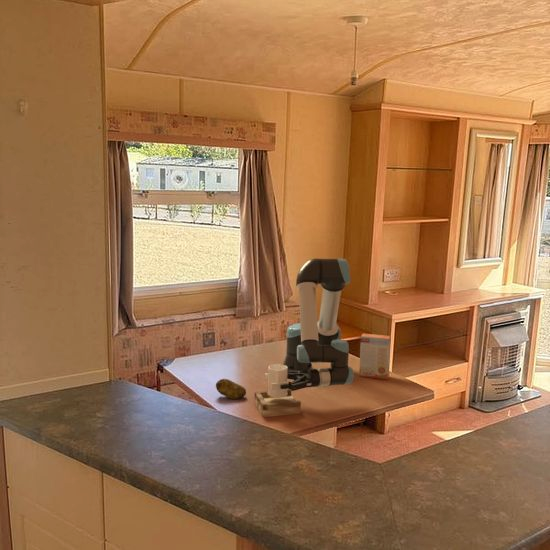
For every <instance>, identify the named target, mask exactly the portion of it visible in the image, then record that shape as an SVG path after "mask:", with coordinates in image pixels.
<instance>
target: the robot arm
mask: <svg viewBox="0 0 550 550" xmlns="http://www.w3.org/2000/svg"><path fill="white" fill-rule="evenodd" d="M350 271H351V270H350V264H349V261H348V260H347V259H345V258H311V259H309V260H307V261H306V262H305V263H303V265H302V266H301V267H300V268H299V271H298V273H297V276H296V281H295V282H296V283H295V285H296V286H295V287H296V290H298V300H299V322H300V323H299V322H298V323H293V324H291V325H288V327H287V328H286V336H285V337H286V347H285V348H286V353H285V354H286V355H285V356H284V360H283V363H282V365H286V366H287V367H288V369H287V382H282V383H272V390H281V389H289V390H290V389H291V392H295V391H298V390H302V389H306V388H316V387H317V388H318V387H323V388H325V387H326V386H327V387H329V386H339V385H341V386H343V385H348V384H351V383H353V381H354V378H355V375H354V374H355V373H354V370H353V368H352V366H349V353H350V350H349V342H348V341H347V340H344V339H342V338H341V337H342V331H341V328H340V327H339V325H338V324H337V320H338V313H339V308H340V307H339V306H340V301H341V293H342V291H343V290H345V287H346V285H350V283H351V272H350ZM318 285H320V287H321V288H322V295H321V301H320V310H319V317H318V310H317V309H318V308H317V306H318V305H317V291H316V290H317V288H318ZM313 363H314V364H315V363H323V364H325V363H330V367H322V368H320V367H319V368H313ZM264 380H265V381H268V373H264ZM288 380H292V381H288Z"/></svg>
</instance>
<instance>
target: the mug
mask: <svg viewBox="0 0 550 550" xmlns="http://www.w3.org/2000/svg"><path fill="white" fill-rule="evenodd" d="M287 369H288V367H287V366H286V365H283V363H282V364H281V363H274V364H270V365H268V380H267V381H268V382H267V387H268V388H267V391H268V393H267V394H268V395H269V396H270V397H274V398H282V397H285V396H287V394H288V393H287V389H281V390H272V383H282V382H288V379H287Z"/></svg>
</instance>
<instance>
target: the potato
mask: <svg viewBox="0 0 550 550" xmlns="http://www.w3.org/2000/svg"><path fill="white" fill-rule="evenodd" d="M215 388H216V391H217V392H218V393H219V394H220V395H222V396H224V397H225V398H228V399H232V400H237V399H238V400H239V399H241V398H243V397H245V396H246V394H247V389H246V388H245V387H244V386H242V385H241V384H239V383H236V382H234V381H232V380H230V379H227V378H222V379H219V380H217V382H216V383H215Z"/></svg>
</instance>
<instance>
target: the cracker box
mask: <svg viewBox="0 0 550 550" xmlns="http://www.w3.org/2000/svg"><path fill="white" fill-rule="evenodd" d="M391 337H392V336H391V335H384V334H374V333H365V332H364V333H362V334H361V336H360V344H359V345H360V349H359V370H358V371H359V373H358V374H359V377H360V376H361V377H363V378H370V379H378V380H385V379H386V380H387V381H388V379H389V377H390V363H391V362H390V361H391ZM361 377H360V378H361Z"/></svg>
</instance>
